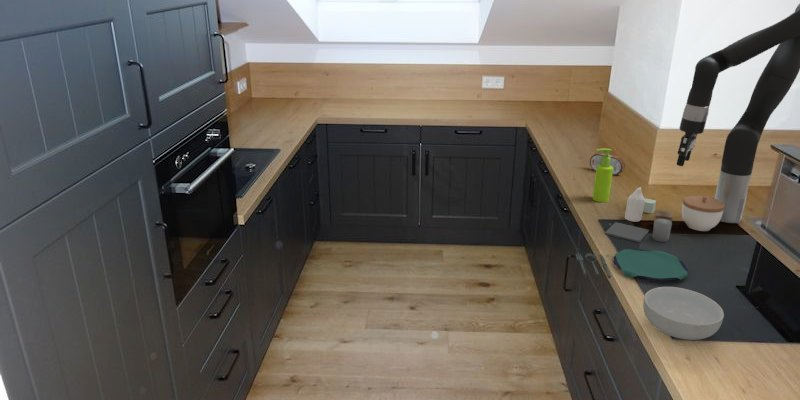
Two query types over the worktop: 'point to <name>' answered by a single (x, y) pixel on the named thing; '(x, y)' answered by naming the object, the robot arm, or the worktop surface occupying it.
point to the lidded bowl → (702, 212)
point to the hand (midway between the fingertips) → (682, 162)
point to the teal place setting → (643, 265)
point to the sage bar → (649, 206)
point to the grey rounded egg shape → (662, 230)
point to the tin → (615, 162)
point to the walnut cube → (663, 215)
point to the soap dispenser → (603, 177)
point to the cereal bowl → (682, 312)
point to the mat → (627, 232)
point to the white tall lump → (635, 206)
